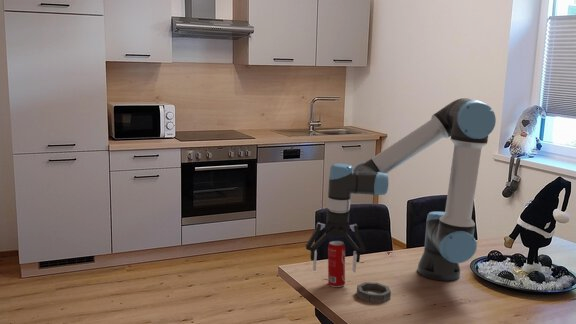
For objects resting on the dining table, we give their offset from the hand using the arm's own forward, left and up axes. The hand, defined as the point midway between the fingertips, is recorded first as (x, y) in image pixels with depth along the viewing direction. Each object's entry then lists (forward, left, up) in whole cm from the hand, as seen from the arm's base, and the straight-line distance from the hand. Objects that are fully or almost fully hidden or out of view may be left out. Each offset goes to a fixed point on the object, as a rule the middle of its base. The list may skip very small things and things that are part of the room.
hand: (334, 270), depth 192 cm
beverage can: (-1, 0, -5) cm, 5 cm away
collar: (-12, +9, -5) cm, 16 cm away
